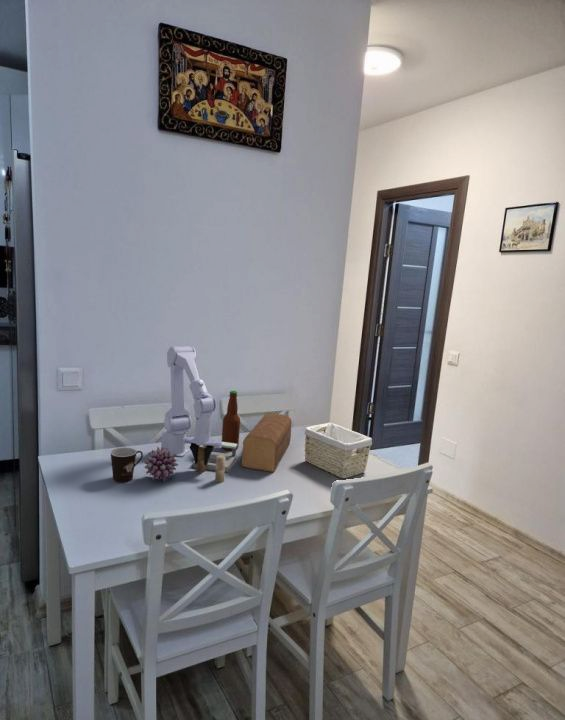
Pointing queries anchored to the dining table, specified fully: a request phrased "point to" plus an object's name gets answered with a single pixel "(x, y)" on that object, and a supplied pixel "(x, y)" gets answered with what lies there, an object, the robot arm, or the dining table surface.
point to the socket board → (229, 457)
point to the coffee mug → (123, 463)
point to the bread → (267, 442)
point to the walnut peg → (201, 459)
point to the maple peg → (220, 468)
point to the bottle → (231, 422)
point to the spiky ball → (161, 463)
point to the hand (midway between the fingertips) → (201, 463)
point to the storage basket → (337, 449)
